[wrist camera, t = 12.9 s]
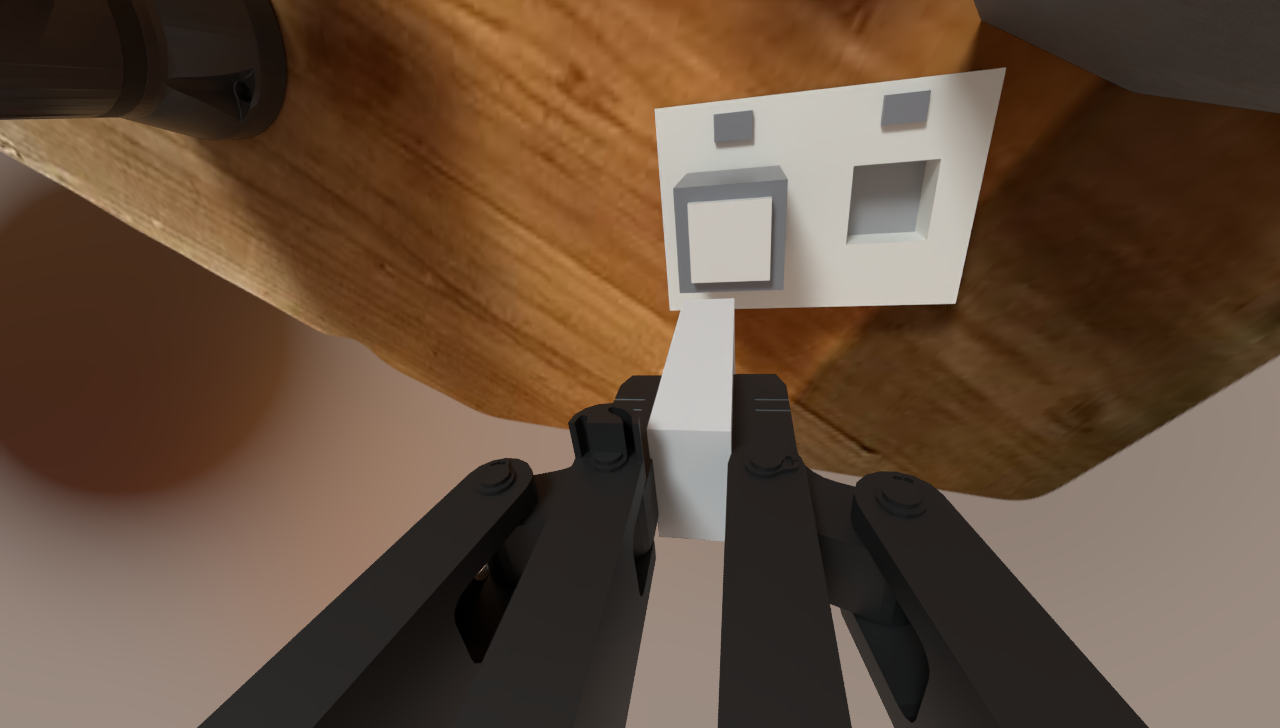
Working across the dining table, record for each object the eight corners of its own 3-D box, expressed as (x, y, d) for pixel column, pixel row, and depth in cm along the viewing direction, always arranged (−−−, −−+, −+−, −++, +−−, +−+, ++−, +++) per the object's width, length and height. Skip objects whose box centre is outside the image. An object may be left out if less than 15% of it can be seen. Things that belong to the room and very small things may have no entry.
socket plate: (674, 297, 40) (669, 312, 37) (661, 108, 33) (653, 109, 30) (940, 289, 35) (957, 305, 32) (983, 71, 29) (1009, 67, 26)
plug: (695, 250, 37) (678, 296, 28) (691, 168, 34) (671, 190, 25) (774, 246, 36) (784, 293, 27) (776, 160, 33) (788, 180, 24)
